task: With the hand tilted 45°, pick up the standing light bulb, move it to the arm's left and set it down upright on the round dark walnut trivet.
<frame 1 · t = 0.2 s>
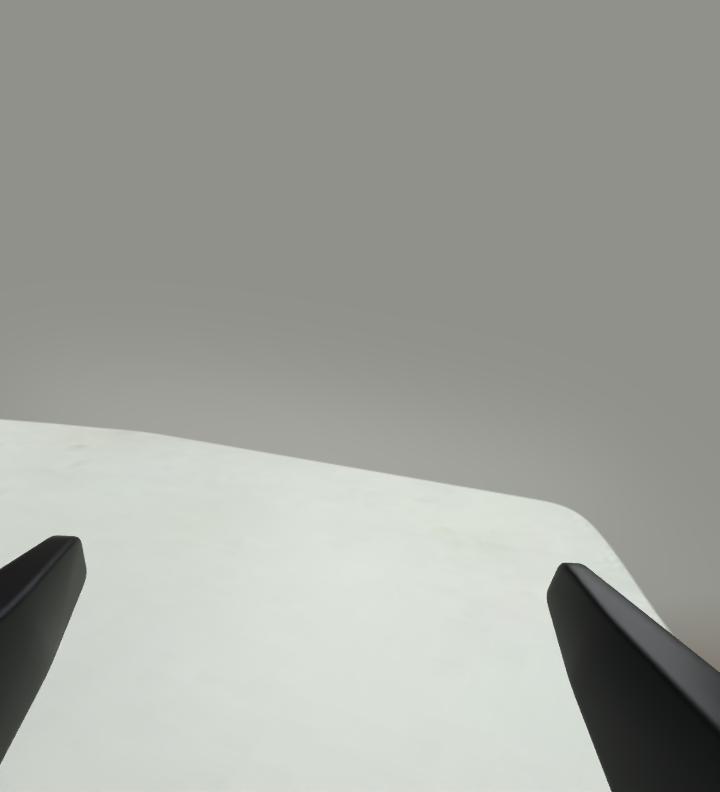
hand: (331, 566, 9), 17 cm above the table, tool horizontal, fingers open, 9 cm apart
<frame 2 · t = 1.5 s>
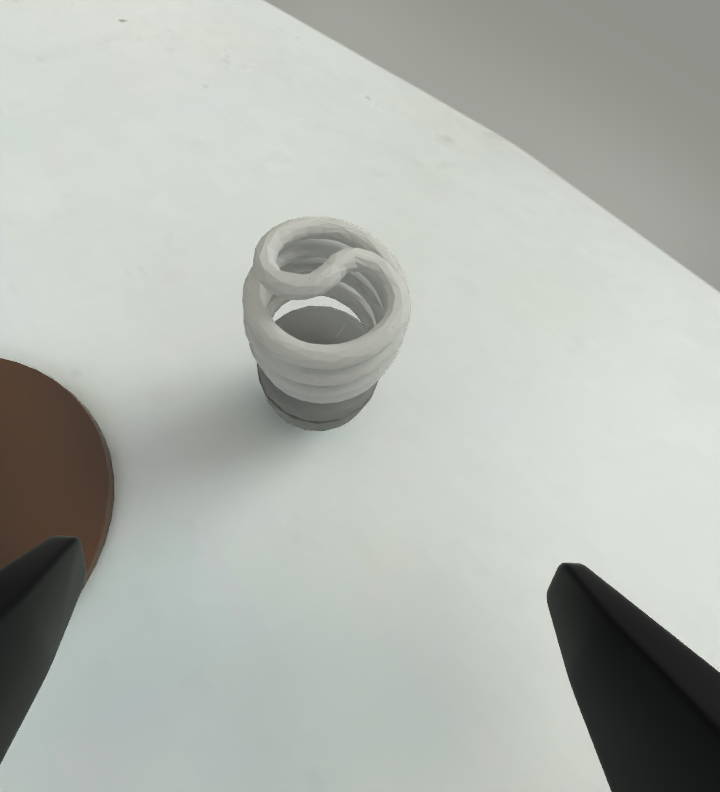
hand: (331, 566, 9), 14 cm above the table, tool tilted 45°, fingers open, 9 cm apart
light bulb: (314, 399, 24), on the table
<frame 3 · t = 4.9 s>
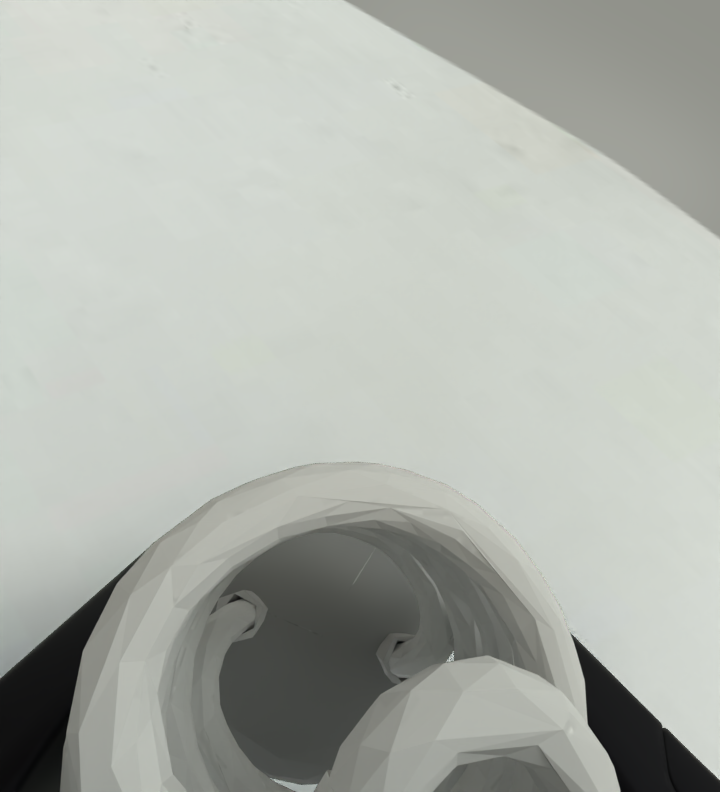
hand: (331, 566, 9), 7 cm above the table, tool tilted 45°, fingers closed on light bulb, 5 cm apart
light bulb: (311, 601, 14), on the table, touching gripper
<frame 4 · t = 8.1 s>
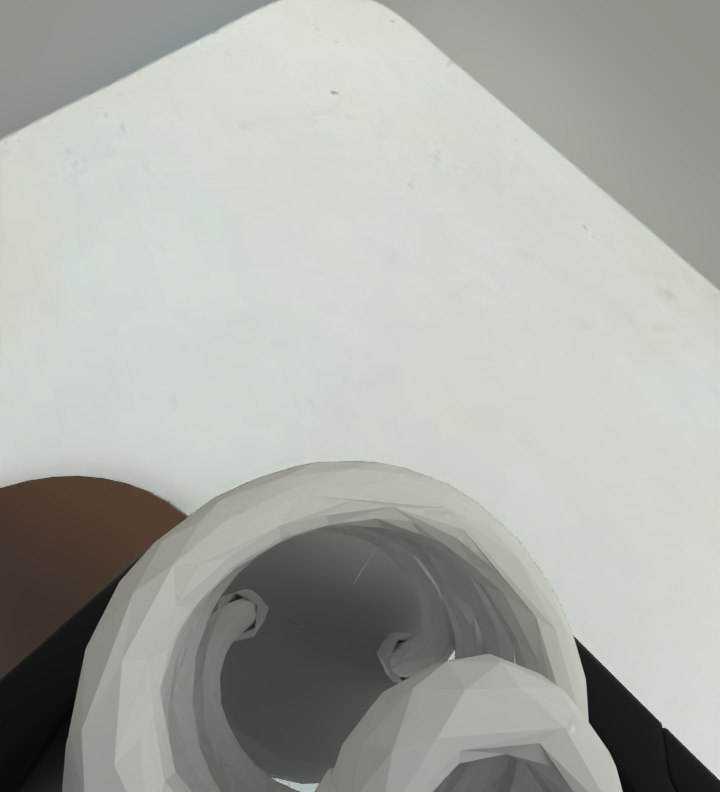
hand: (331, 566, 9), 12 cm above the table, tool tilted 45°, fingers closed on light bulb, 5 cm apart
walnut trivet: (46, 673, 17), on the table
light bulb: (312, 601, 14), point 5 cm above the table, touching gripper
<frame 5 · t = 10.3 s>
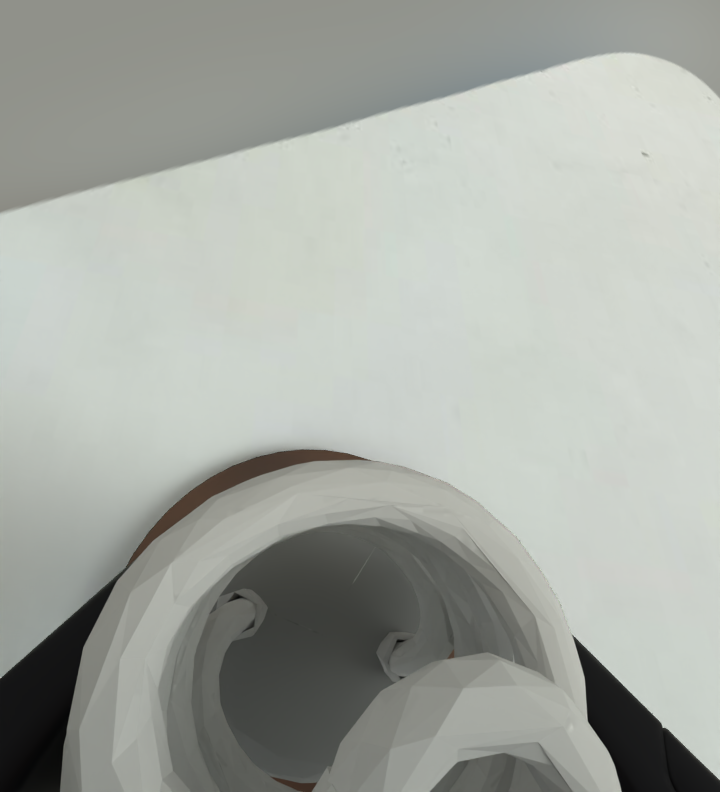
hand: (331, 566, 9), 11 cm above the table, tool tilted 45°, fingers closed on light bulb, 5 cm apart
walnut trivet: (307, 642, 18), on the table
light bulb: (311, 600, 14), point 4 cm above the table, touching gripper
when the fingers open (7 cm above the table, at t = 11.8 s): light bulb stays where it is, resting on walnut trivet.
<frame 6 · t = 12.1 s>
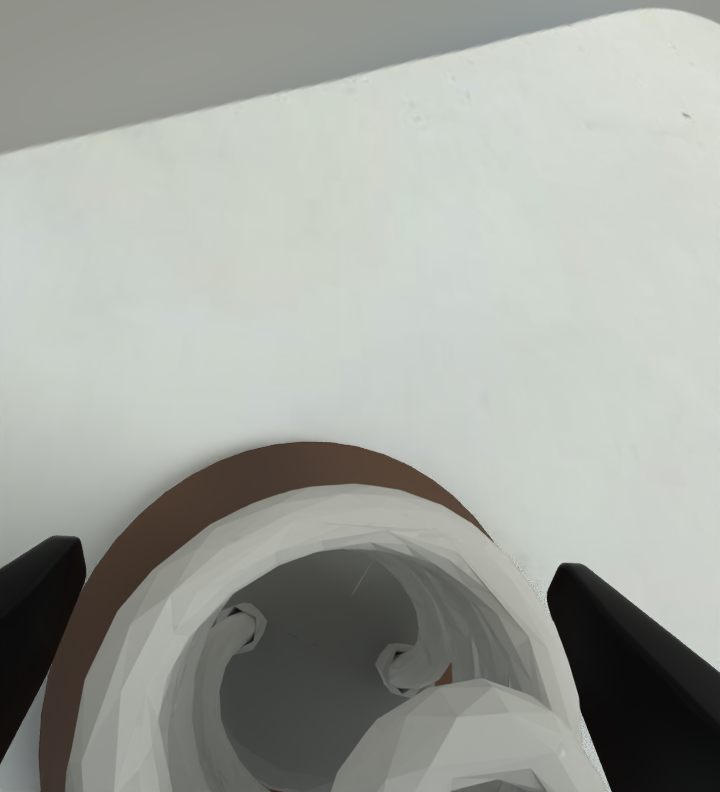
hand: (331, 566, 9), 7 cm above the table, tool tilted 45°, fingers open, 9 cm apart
walnut trivet: (309, 677, 14), on the table
light bulb: (311, 609, 15), resting on walnut trivet
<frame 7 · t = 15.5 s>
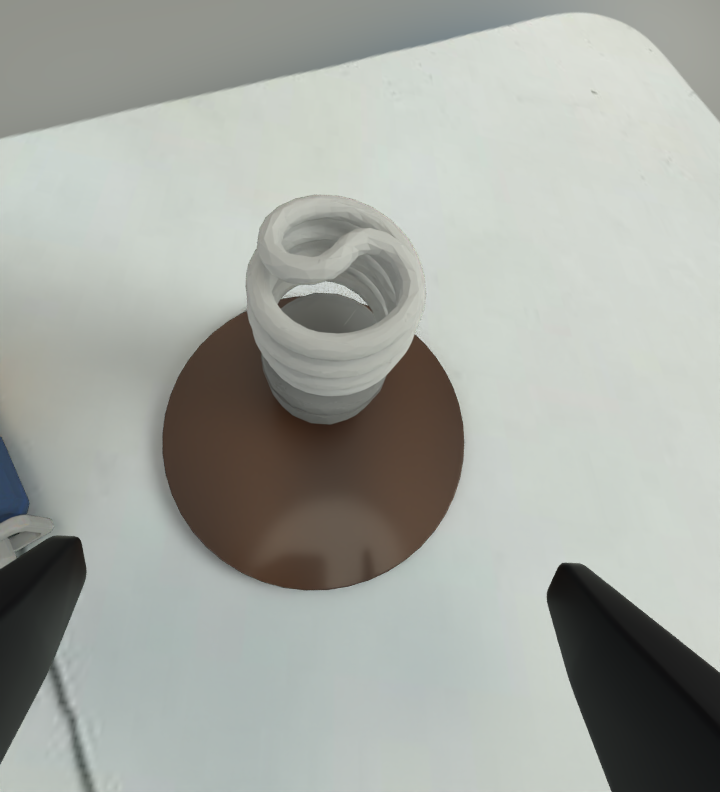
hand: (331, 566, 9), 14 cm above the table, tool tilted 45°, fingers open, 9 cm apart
walnut trivet: (319, 430, 23), on the table
light bulb: (320, 390, 23), resting on walnut trivet
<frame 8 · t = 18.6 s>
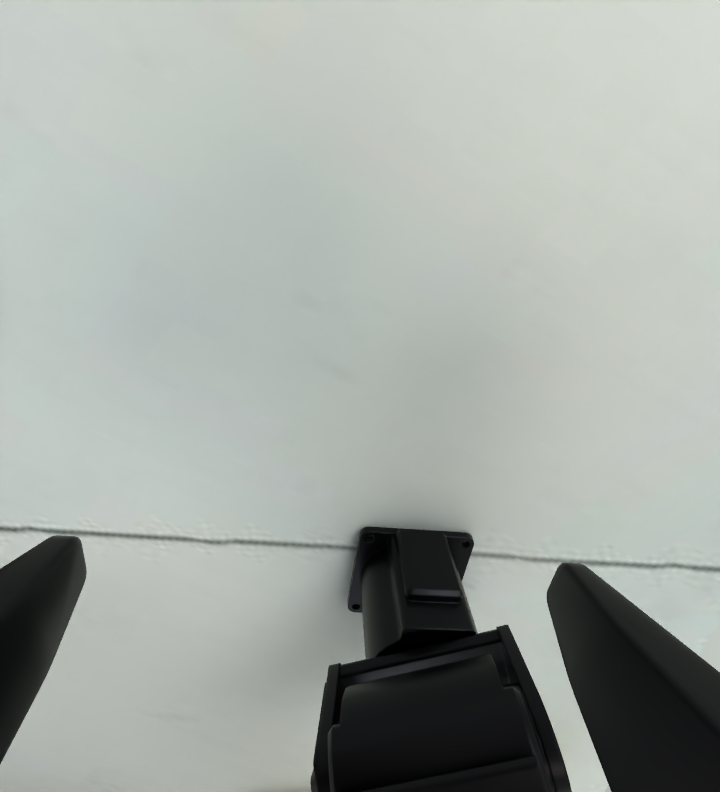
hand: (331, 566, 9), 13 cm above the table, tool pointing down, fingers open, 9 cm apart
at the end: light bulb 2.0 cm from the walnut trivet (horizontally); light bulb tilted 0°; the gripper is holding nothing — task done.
